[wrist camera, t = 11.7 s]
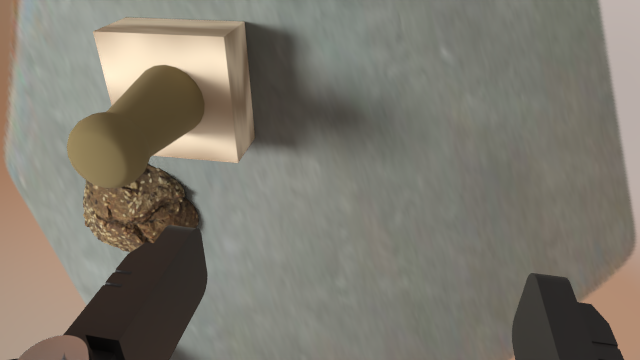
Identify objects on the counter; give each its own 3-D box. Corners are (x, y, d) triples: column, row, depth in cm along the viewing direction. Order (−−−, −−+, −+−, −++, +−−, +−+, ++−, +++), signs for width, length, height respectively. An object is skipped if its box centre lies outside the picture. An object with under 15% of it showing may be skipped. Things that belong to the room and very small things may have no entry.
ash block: (125, 17, 42) (92, 31, 38) (244, 21, 40) (223, 36, 36) (150, 130, 48) (123, 153, 44) (255, 137, 46) (238, 162, 42)
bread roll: (83, 216, 56) (56, 242, 52) (102, 135, 50) (73, 157, 46) (181, 263, 57) (162, 293, 53) (213, 191, 51) (194, 217, 47)
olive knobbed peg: (154, 49, 38) (67, 101, 28) (217, 96, 39) (153, 160, 30) (125, 103, 41) (39, 165, 32) (184, 145, 42) (117, 217, 33)
